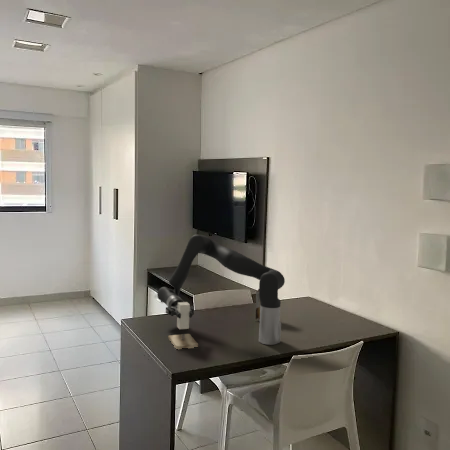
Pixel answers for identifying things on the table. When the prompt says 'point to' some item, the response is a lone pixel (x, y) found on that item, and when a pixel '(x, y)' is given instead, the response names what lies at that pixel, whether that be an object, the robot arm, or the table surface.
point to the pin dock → (182, 341)
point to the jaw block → (183, 315)
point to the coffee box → (257, 307)
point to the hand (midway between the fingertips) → (185, 315)
